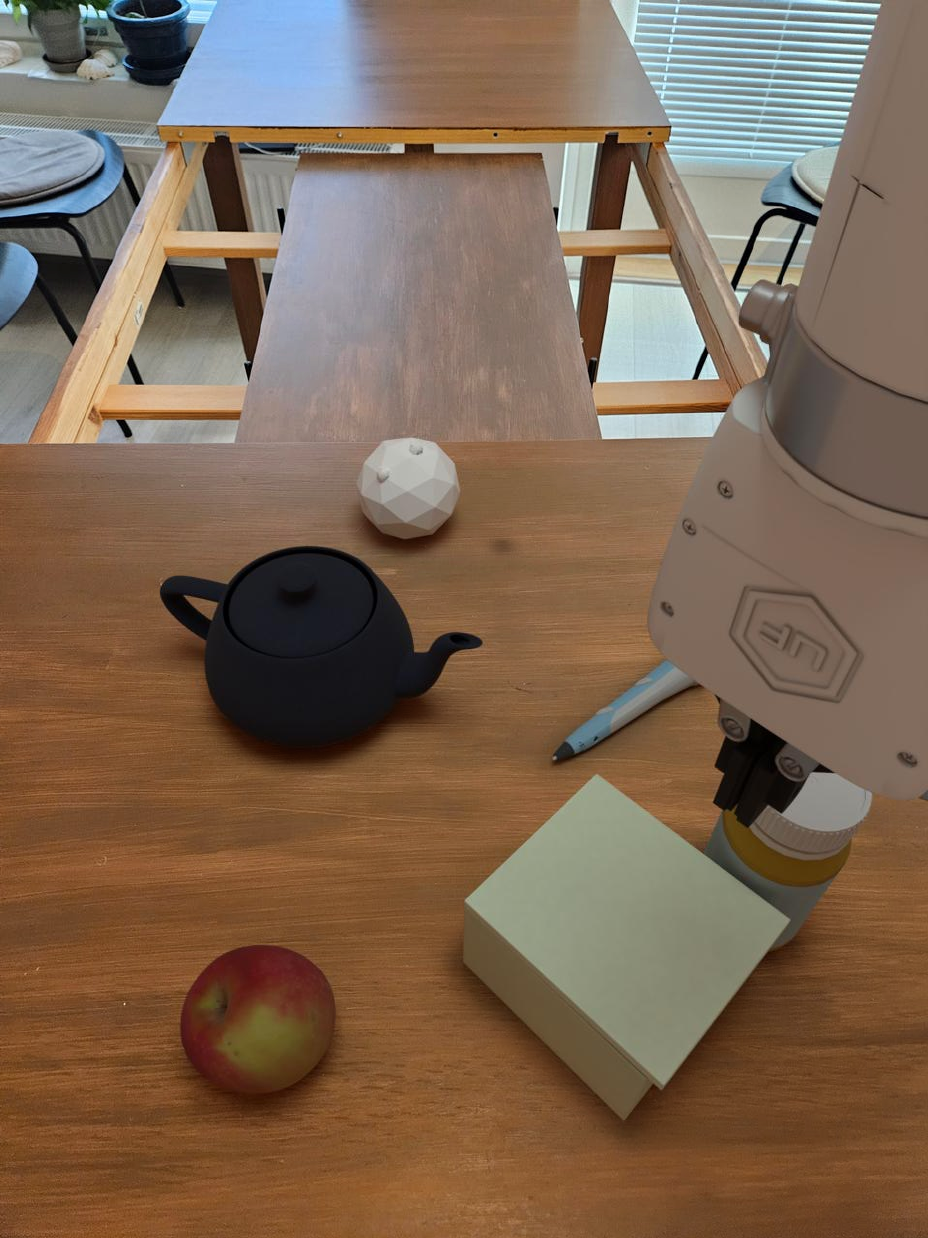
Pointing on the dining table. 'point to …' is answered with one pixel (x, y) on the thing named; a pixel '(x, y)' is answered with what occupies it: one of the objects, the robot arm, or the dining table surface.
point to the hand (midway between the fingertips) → (750, 793)
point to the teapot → (307, 646)
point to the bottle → (793, 846)
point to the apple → (258, 1019)
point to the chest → (553, 1020)
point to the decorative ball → (408, 487)
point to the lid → (628, 925)
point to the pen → (626, 708)
